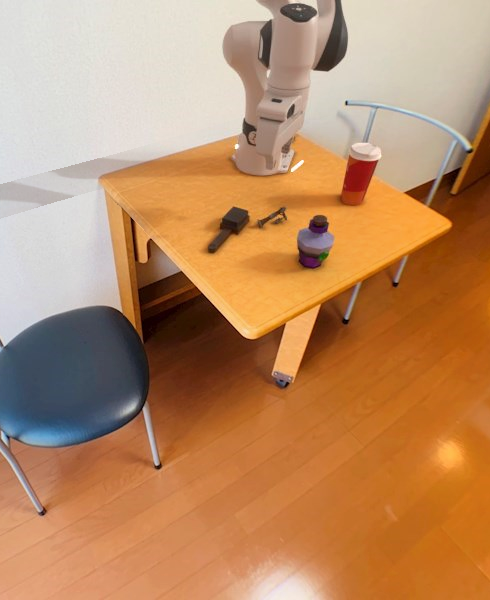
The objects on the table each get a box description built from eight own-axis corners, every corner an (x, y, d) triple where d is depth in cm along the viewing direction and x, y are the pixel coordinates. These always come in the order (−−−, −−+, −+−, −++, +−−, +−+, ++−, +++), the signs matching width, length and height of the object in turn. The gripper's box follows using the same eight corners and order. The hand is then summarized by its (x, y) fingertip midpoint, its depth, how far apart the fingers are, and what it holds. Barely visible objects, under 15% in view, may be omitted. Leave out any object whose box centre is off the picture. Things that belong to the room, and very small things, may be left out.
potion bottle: (317, 278, 97) (328, 234, 89) (284, 262, 101) (292, 219, 93) (335, 259, 102) (347, 216, 93) (303, 245, 106) (312, 203, 98)
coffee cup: (349, 189, 125) (363, 138, 115) (373, 201, 120) (389, 150, 110) (329, 198, 122) (342, 146, 111) (353, 211, 117) (368, 158, 106)
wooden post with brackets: (291, 219, 112) (287, 206, 109) (264, 234, 113) (259, 222, 110) (288, 215, 114) (284, 203, 110) (261, 230, 114) (256, 219, 111)
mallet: (231, 216, 115) (232, 205, 113) (249, 221, 114) (250, 210, 111) (200, 249, 105) (200, 238, 103) (219, 256, 103) (220, 244, 101)
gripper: (290, 82, 99) (281, 141, 108) (253, 110, 86) (247, 174, 95) (316, 86, 96) (306, 146, 106) (282, 116, 83) (274, 181, 93)
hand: (277, 160), depth 100 cm, fingers open, 8 cm apart
